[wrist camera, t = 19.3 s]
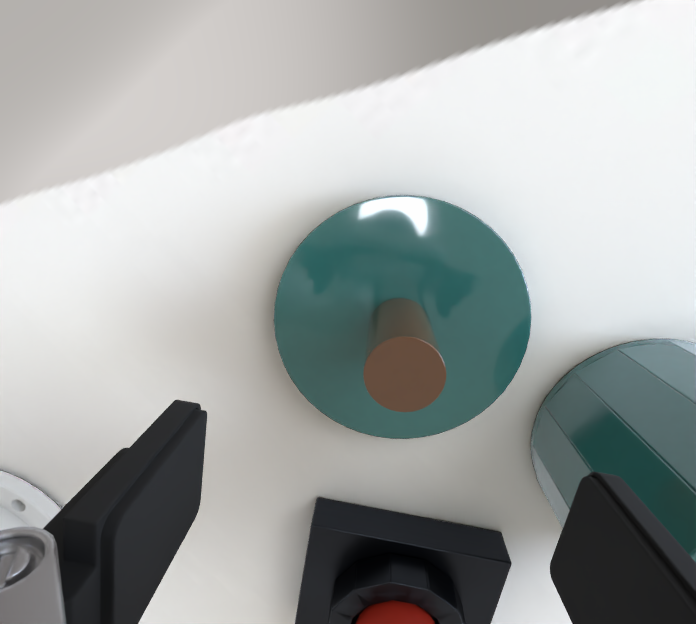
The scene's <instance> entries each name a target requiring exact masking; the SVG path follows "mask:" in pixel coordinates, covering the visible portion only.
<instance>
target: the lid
mask: <svg viewBox="0 0 696 624" xmlns="http://www.w3.org/2000/svg"><path fill="white" fill-rule="evenodd" d="M274 326H275V337H276V341H277V345H278V350H279V353H280V356H281V358H282V361H283V364H284V366H285V368H286V370H287V372H288V374H289V376H290V377H291V379H292V381H293V382H294V383H295V385H296V386H297V388H298V389H299V391H300V392H301V393H302V394H303V395H304V396H305V397H306V398H307V400H308V401H309V402H310V403H311V404H313V405H314V406H315V407H316V408H317V409H318V410H320V411H321V412H322V413H323V414H325V415H326V416H328V417H329V418H331V419H332V420H334V421H336V422H338V423H340V424H342V425H344V426H346V427H347V428H350V429H353V430H355V431H358V432H361V433H364V434H369V435H373V436H377V437H384V438H395V439H409V438H419V437H426V436H430V435H435V434H439V433H442V432H445V431H448V430H451V429H453V428H455V427H457V426H460V425H462V424H464V423H466V422H468V421H469V420H471V419H472V418H474V417H475V416H477V415H479V414H480V413H481V412H483V411H484V410H485V409H486V408H487V407H489V406H490V405H491V404H492V403H493V402H494V401H495V400H496V399H497V398H498V397H499V396H500V395H501V394H502V393H503V392H504V390H505V389H506V388H507V386H508V385H509V383H510V382H511V381H512V379H513V378H514V376H515V374H516V372H517V370H518V368H519V367H520V365H521V362H522V359H523V357H524V354H525V352H526V348H527V344H528V340H529V335H530V326H531V304H530V297H529V292H528V287H527V283H526V281H525V278H524V275H523V272H522V269H521V267H520V266H519V264H518V262H517V260H516V258H515V256H514V254H513V253H512V251H511V250H510V249H509V247H508V246H507V245H506V243H505V242H504V241H503V239H502V238H501V237H500V236H499V235H498V234H497V233H496V232H495V231H494V230H493V229H492V228H491V227H489V226H488V225H487V224H486V223H484V222H483V221H482V220H480V219H479V218H478V217H476V216H474V215H473V214H471V213H469V212H467V211H466V210H464V209H462V208H460V207H457V206H455V205H452V204H450V203H447V202H445V201H441V200H437V199H432V198H428V197H422V196H412V195H395V196H385V197H379V198H373V199H370V200H366V201H363V202H360V203H357V204H354V205H352V206H350V207H348V208H346V209H343V210H341V211H339V212H338V213H336V214H334V215H333V216H331V217H330V218H328V219H327V220H325V221H324V222H322V223H321V224H320V225H319V226H318V227H317V228H315V229H314V230H313V231H312V232H311V233H310V234H309V235H308V236H307V237H306V238H305V239H304V241H303V242H302V243H301V244H300V245H299V246H298V248H297V249H296V251H295V252H294V254H293V255H292V257H291V258H290V260H289V262H288V264H287V266H286V268H285V270H284V272H283V274H282V277H281V280H280V283H279V286H278V290H277V295H276V300H275V309H274Z"/></svg>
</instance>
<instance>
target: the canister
mask: <svg viewBox="0 0 696 624" xmlns="http://www.w3.org/2000/svg"><path fill="white" fill-rule="evenodd" d="M531 456H532V461H533V465H534V469H535V472H536V476H537V480H538V482H539V484H540V486H541V488H542V490H543V492H544V494H545V496H546V498H547V500H548V501H549V503H550V505H551V507H552V509H553V511H554V513H555V515H556V517H557V519H558V521H559V522H560V524H561V526H562V528H563V527H564V524H565V522H566V519H567V516H568V513H569V511H570V508H571V505H572V502H573V500H574V497H575V494H576V491H577V489H578V486H579V483H580V481H581V479H582V478H583V477H585V476H588V475H589V474H590V473H591V472H599V473H605V474H611V475H616V476H619V477H621V478H622V479H623V480H624V481H625V483H626V484H627V485H628V486H629V487H630V488H631V489H632V490H633V492H634V493H635V494H636V495H637V496H638V497H639V498H640V500H641V501H642V502H643V503H644V504H645V505H646V506H647V508H648V509H649V510H650V511H651V512H652V513H653V514H654V515H655V517H656V518H657V519H658V520H659V521H660V522H661V523H662V525H663V526H664V527H665V528H666V529H667V530H668V531H669V532H670V534H671V535H672V536H673V537H674V538H675V539H676V540H677V542H678V543H679V544H680V545H681V546H682V547H683V548H684V549H685V551H686V552H687V553H688V554H689V555H690V556H691V557H692V559H693V560H694V561H695V562H696V343H692V342H688V341H682V340H673V339H649V340H641V341H634V342H630V343H626V344H622V345H618V346H615V347H613V348H610V349H607V350H604V351H602V352H600V353H598V354H596V355H594V356H592V357H590V358H589V359H587V360H585V361H584V362H582V363H581V364H579V365H577V366H576V367H575V368H574V369H572V370H571V371H570V372H569V373H567V374H566V375H565V376H564V377H563V378H562V379H561V380H560V381H559V382H558V383H557V384H556V385H555V386H554V388H553V389H552V390H551V392H550V393H549V394H548V396H547V397H546V399H545V400H544V402H543V404H542V406H541V407H540V409H539V412H538V414H537V417H536V419H535V422H534V426H533V430H532V438H531Z"/></svg>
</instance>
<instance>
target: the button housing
mask: <svg viewBox="0 0 696 624" xmlns="http://www.w3.org/2000/svg"><path fill="white" fill-rule="evenodd" d="M510 567H511V560H510V557H509V554H508V551H507V549H506V546H505V543H504V540H503V537H502V534H501V532H496V531H491V530H486V529H481V528H476V527H470V526H465V525H460V524H455V523H449V522H444V521H439V520H434V519H428V518H423V517H418V516H413V515H408V514H402V513H397V512H392V511H387V510H381V509H376V508H371V507H366V506H360V505H355V504H350V503H345V502H340V501H334V500H329V499H324V498H319V497H318V498H317V500H316V505H315V510H314V514H313V519H312V524H311V529H310V535H309V541H308V547H307V553H306V559H305V565H304V571H303V578H302V584H301V590H300V596H299V602H298V608H297V614H296V620H295V624H356V621H357V619H358V617H359V615H360V614H361V612H362V611H363V610H364V609H366V608H367V607H368V606H370V605H373V604H378V603H382V602H387V601H392V600H394V601H400V602H405V603H410V604H415V605H417V606H419V607H421V608H422V609H424V610H425V611H426V612H427V613H428V614H429V615H430V616H431V617H432V619H433V620H434V622H435V624H491V621H492V618H493V615H494V612H495V609H496V607H497V604H498V601H499V598H500V595H501V592H502V589H503V587H504V584H505V581H506V578H507V575H508V572H509V569H510Z"/></svg>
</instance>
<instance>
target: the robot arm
mask: <svg viewBox="0 0 696 624" xmlns="http://www.w3.org/2000/svg"><path fill="white" fill-rule="evenodd" d="M206 423H207V412H206V411H203V410H201V407H200V404H198V403H192V402H186V401H181V400H175V401H174V402H173V403H172V404H171V405H170V406H169V407H168V408H167V409H166V410H165V411H164V412H163V413H162V414H161V415H160V416H159V417H158V419H157V420H156V421H155V422H154V423H153V424H152V425H151V426H150V427H149V428H148V429H147V430H146V431H145V432H144V433H143V434H142V435H141V436H140V437H139V438H138V439H137V441H136V442H135V443H134V444H133V445H132V446H131V447H130V448H123V449H121V450H120V451H119V452H118V453H117V454H116V455H115V456H114V457H113V458H112V459H111V460H110V461H109V462H108V463H107V464H106V465H105V466H104V467H103V468H102V469H101V470H100V471H99V472H98V473H97V474H96V475H95V476H94V477H93V478H92V479H91V480H90V481H89V482H88V483H87V484H86V485H85V486H84V487H83V488H82V489H81V490H80V491H79V492H78V493H77V494H76V495H75V496H74V497H73V498H72V499H71V500H70V501H69V502H68V503H67V504H66V505H65V506H64V507H63V508H62V510H61V508H60V507H59V506H58V505H57V504H56V503H55V502H54V501H53V500H52V499H50V498H49V497H48V496H47V495H46V494H44V493H43V492H42V491H41V490H39V489H38V488H36V487H34V486H33V485H31V484H30V483H28V482H26V481H25V480H23V479H20V478H18V477H16V476H14V475H11V474H9V473H7V472H4V471H0V624H138V622H139V621H140V619H141V617H142V615H143V613H144V611H145V609H146V608H147V606H148V604H149V602H150V600H151V598H152V597H153V595H154V593H155V591H156V589H157V587H158V586H159V584H160V582H161V580H162V578H163V576H164V575H165V573H166V571H167V569H168V567H169V565H170V564H171V562H172V560H173V558H174V556H175V554H176V553H177V551H178V549H179V547H180V545H181V543H182V541H183V540H184V538H185V536H186V534H187V532H188V530H189V529H190V527H191V525H192V523H193V521H194V519H195V517H196V515H197V513H198V510H199V506H200V500H201V487H202V474H203V461H204V449H205V436H206ZM550 574H551V578H552V581H553V583H554V585H555V587H556V589H557V591H558V593H559V596H560V598H561V600H562V602H563V604H564V606H565V608H566V611H567V613H568V615H569V617H570V619H571V621H572V623H573V624H696V562H695V561H694V560H693V559H692V557H691V556H690V555H689V554H688V553H687V552H686V551H685V549H684V548H683V547H682V546H681V545H680V544H679V543H678V542H677V540H676V539H675V538H674V537H673V536H672V535H671V534H670V532H669V531H668V530H667V529H666V528H665V527H664V526H663V525H662V523H661V522H660V521H659V520H658V519H657V518H656V517H655V515H654V514H653V513H652V512H651V511H650V510H649V509H648V508H647V506H646V505H645V504H644V503H643V502H642V501H641V500H640V498H639V497H638V496H637V495H636V494H635V493H634V492H633V490H632V489H631V488H630V487H629V486H628V485H627V484H626V483H625V481H624V480H623V479H622V478H621V477H619V476H616V475H611V474H605V473H599V472H591V473H590V474H589V475H588V476H585V477H583V478H582V479H581V481H580V483H579V486H578V489H577V491H576V494H575V497H574V500H573V502H572V505H571V508H570V511H569V513H568V516H567V519H566V522H565V524H564V527H563V530H562V533H561V535H560V538H559V541H558V543H557V546H556V549H555V552H554V554H553V557H552V560H551V563H550Z"/></svg>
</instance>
